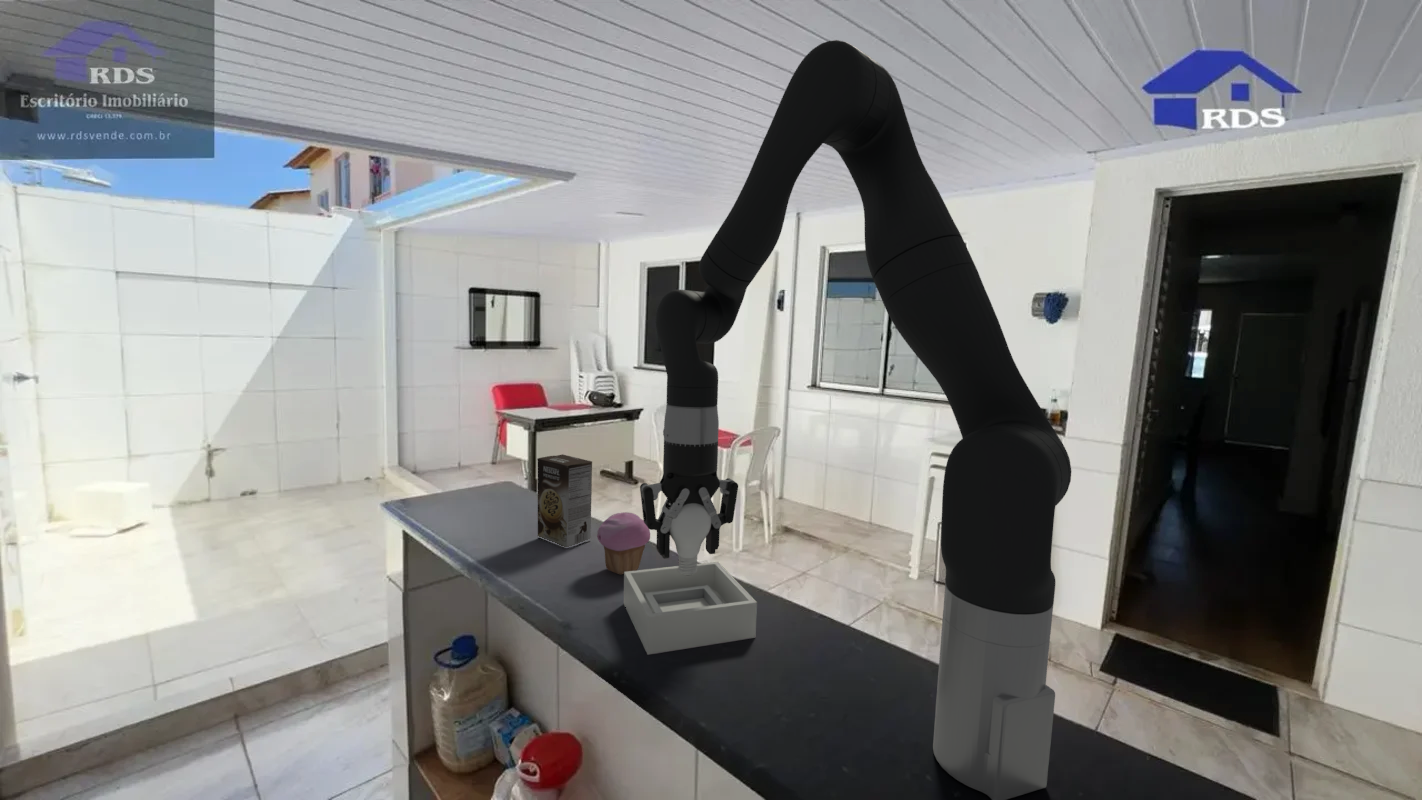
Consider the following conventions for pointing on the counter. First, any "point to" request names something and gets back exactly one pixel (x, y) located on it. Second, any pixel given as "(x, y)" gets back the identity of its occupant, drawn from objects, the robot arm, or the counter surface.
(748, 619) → the walled box
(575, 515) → the coffee box
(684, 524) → the lightbulb
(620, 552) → the cupcake
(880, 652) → the counter surface
